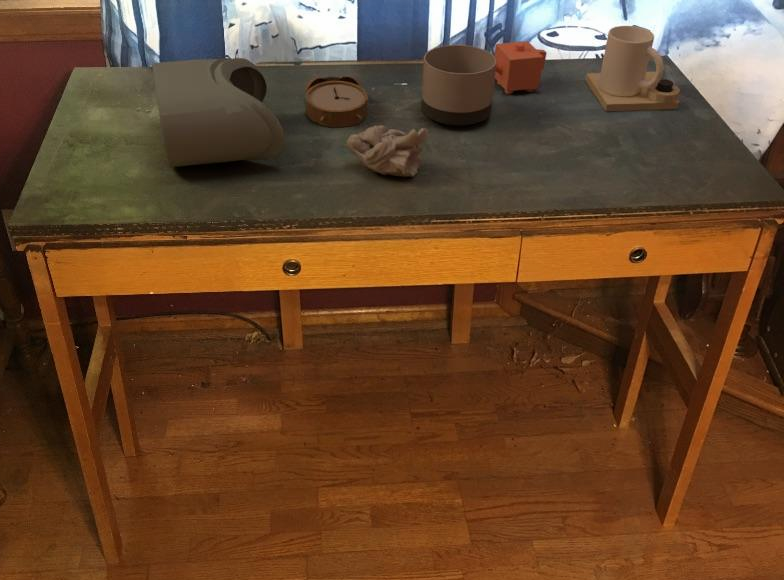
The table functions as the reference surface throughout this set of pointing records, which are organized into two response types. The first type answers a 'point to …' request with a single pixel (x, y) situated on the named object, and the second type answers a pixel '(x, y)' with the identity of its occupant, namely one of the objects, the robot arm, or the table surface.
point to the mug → (629, 61)
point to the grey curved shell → (215, 112)
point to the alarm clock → (336, 101)
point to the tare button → (664, 86)
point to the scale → (635, 97)
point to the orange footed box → (519, 66)
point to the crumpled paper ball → (388, 150)
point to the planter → (458, 84)
